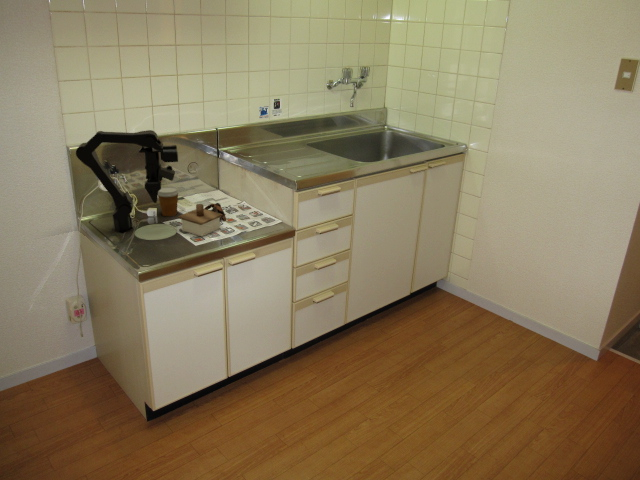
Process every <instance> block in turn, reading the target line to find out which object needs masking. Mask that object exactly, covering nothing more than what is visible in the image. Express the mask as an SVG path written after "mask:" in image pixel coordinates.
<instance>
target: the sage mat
mask: <svg viewBox="0 0 640 480" xmlns="http://www.w3.org/2000/svg"><path fill="white" fill-rule="evenodd" d="M177 232H178V229H177V228H176V227H175V226H174V225H171V224H166V223H154V224H148V225H143V226H141V227H139V228H137V229H136V230H135V231H134V235H135V237H137V238H138V239H140V240H141V239H142V240H147V241H148V240H149V241H156V240H164V239H168V238H171V237H173V236H175V235H176V233H177Z"/></svg>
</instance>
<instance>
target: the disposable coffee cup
mask: <svg viewBox="0 0 640 480" xmlns="http://www.w3.org/2000/svg"><path fill="white" fill-rule="evenodd" d="M179 193H180V191H179V189H178V187H175V186H172V185H171V186H170V185H169V186H161V190H159V191H158V195H157V198H158V202H159V205H160V209H161V214H162V216H164V217H172V216H173V217H175V216H176V215H177V214H178V203H179V202H178V199H179Z"/></svg>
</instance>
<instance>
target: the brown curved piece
mask: <svg viewBox="0 0 640 480" xmlns="http://www.w3.org/2000/svg"><path fill="white" fill-rule="evenodd" d="M204 209H206V210H210V209H211V210H210V211H213V212H217V213H220V214H223V216H221V218H222V219H223V221H224V222H226V220H227V216H226V213H225V211H224V209H223V208H222V206H221V204H220V203H219V202H215V203H210V204H208V205H206V206H205V207H204Z"/></svg>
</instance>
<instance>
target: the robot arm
mask: <svg viewBox="0 0 640 480" xmlns="http://www.w3.org/2000/svg"><path fill="white" fill-rule="evenodd" d="M105 143H107V144H129V145H130V144H131V145H132V144H133V145H137V146H140V148H139V150H138V153H143V155H144V163H145V164H144V170H145V180H146V181H145V183H144V190H145V192H147V194H148V195H149V197H150V199H151V200H152V202H153V203H154V204H157V202H158V191H159V190H161V187H162V181H163V179H166V180H169V181H171V182H172V181H174V178H175V174H176V171H175V169H173V167H172V165H167V166H166V167H163V166H162V163H161V161H162V162H164V163H179V152H178V146H177V144H172V145H164V143H163V142H162V141H161V140H160V139H159V135H158V134H157V132H155V131H154V130H152V129H151V130H150V129H147V130H141V131H137V132H121V131H120V132H119V131H115V132H114V131H102V130H99V131H97V132H96V133H95V134H94V135H93V136H92V137H91V138H90V139H89V140H88V141H87V142H82V143H80V144H79V145H78V147H77V148H76V149H75V150H76V151H75V157H76V158H77V159H78V160H79V161H80V162H81V163H82V164H83V165H84V166H86V167H88V168H89V169H90V170H91V171H92V173H93V174H94V176H96V178H97V179H98V181H99V182H100V183H101V184H102V186H103V187H104V189H106V190H105V191H107V193H109V195H110V196H111V198H112V201H113V203H114V210H113V214H112V220H113V228H112V231H113V232H117V233H120V234H124V233H126V232H130V231H132V230H134V229H135V227H133V220H132V216H131V213H132V212H133V208H134V198H133V197H132V196H131V195H130V193H129V191H126V192H124V191H122V189H120V188H119V186H118V185H117V183H116V182H115V180H114V179H113V178H112V176H111V175H110V173H109V172H108V171H107V170H106V168H105V167H104V166H103V165H102V162H100V159H99V157H98V154H97V152H96V149H98V148H99V147H100V146H101V144H105ZM160 160H161V161H160Z"/></svg>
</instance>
